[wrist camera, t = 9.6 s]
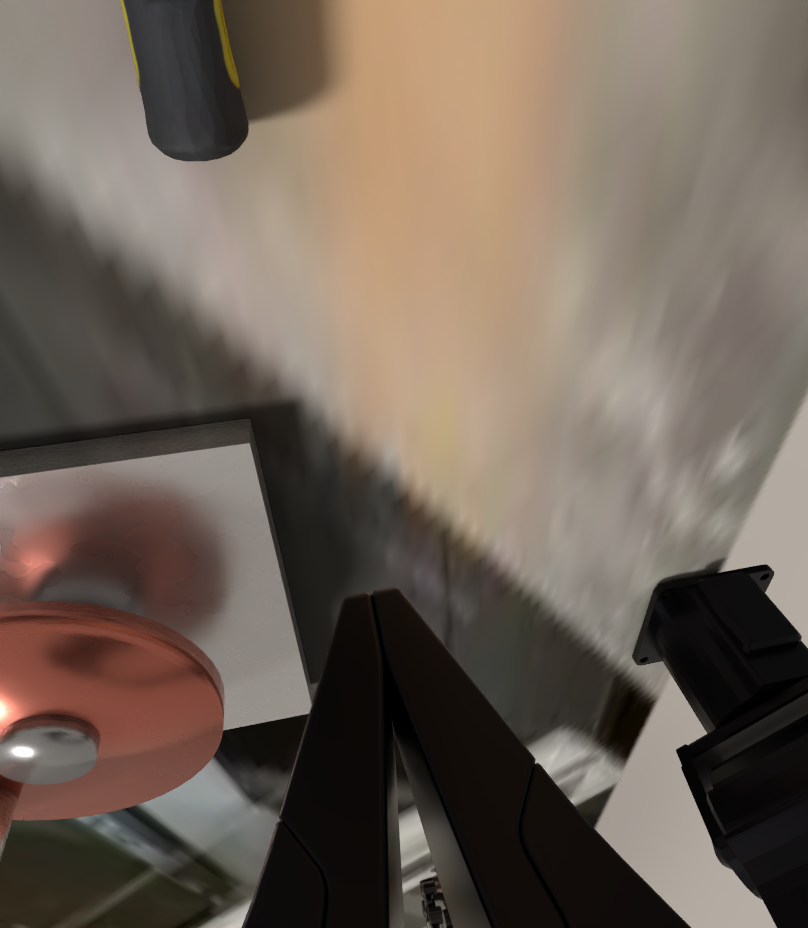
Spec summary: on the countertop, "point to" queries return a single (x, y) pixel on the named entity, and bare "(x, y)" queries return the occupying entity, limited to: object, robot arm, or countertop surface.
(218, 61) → the mallet
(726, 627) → the robot arm
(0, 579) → the grey flat square slab
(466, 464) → the countertop surface
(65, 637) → the handwheel
